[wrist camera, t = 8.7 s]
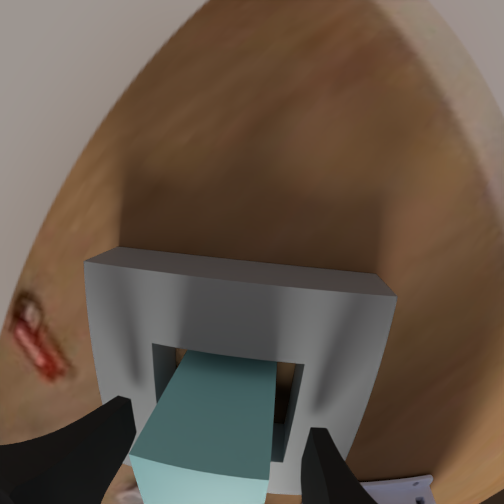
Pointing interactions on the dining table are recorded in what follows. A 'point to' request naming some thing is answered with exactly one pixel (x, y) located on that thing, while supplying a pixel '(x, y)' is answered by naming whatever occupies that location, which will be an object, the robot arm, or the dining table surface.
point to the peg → (209, 433)
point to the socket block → (241, 336)
